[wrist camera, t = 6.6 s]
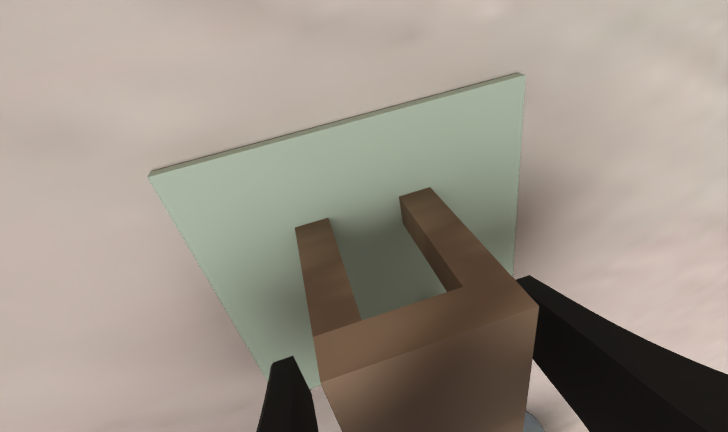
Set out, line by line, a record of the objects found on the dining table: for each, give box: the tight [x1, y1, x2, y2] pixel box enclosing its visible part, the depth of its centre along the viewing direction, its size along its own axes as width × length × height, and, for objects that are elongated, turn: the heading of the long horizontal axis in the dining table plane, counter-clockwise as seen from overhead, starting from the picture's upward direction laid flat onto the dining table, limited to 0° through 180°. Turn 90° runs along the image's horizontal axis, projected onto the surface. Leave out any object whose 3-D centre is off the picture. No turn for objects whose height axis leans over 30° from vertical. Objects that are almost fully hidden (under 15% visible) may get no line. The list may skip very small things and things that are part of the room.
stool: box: [295, 187, 539, 432], centre depth 12 cm, size 5×7×6 cm
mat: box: [147, 73, 526, 389], centre depth 14 cm, size 12×12×1 cm
